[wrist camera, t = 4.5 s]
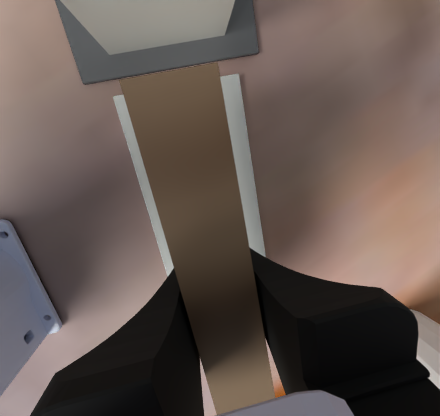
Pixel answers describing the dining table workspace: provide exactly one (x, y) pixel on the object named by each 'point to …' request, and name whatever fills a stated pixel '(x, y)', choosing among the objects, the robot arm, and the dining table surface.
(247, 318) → the bar
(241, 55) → the mat
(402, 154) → the dining table surface
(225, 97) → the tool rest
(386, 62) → the dining table surface
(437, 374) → the shot glass
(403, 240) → the dining table surface
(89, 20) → the tile
